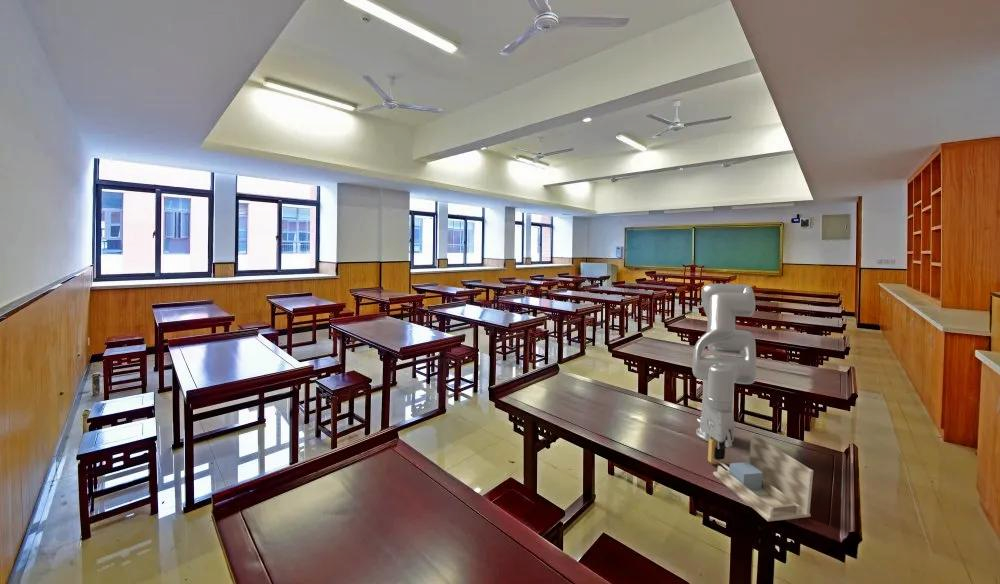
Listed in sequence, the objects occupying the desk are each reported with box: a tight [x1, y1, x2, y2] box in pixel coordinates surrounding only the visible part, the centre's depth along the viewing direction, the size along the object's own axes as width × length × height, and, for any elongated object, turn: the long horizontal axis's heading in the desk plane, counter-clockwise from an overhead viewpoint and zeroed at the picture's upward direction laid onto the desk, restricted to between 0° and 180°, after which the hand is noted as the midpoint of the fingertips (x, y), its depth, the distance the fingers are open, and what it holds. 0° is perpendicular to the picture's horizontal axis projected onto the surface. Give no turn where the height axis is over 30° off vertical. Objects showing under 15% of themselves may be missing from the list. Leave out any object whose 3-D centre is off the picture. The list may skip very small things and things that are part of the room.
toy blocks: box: [707, 438, 763, 490], centre depth 127 cm, size 17×6×8 cm, turn 8°
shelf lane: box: [712, 433, 814, 522], centre depth 118 cm, size 22×13×13 cm, turn 8°
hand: (716, 456), depth 134 cm, fingers closed
